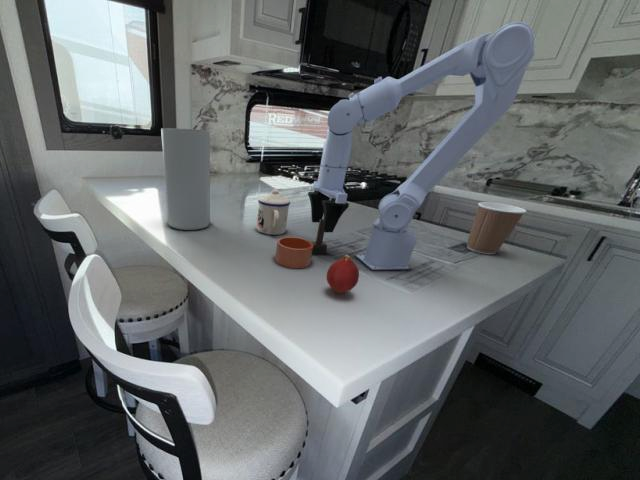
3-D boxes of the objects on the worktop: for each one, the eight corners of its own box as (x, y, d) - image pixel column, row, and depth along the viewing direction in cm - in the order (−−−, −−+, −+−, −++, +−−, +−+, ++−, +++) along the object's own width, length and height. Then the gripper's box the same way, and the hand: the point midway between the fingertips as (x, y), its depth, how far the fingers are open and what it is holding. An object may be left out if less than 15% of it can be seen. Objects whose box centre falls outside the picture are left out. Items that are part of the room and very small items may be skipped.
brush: (321, 250, 79) (328, 218, 74) (325, 254, 77) (332, 221, 72) (308, 251, 78) (314, 218, 74) (311, 254, 76) (317, 221, 72)
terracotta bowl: (303, 254, 76) (306, 236, 74) (315, 268, 69) (318, 249, 67) (271, 254, 75) (273, 236, 73) (280, 268, 68) (282, 249, 66)
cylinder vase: (175, 233, 85) (169, 130, 72) (162, 220, 94) (155, 127, 81) (216, 228, 90) (217, 132, 77) (200, 217, 99) (199, 129, 87)
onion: (331, 283, 63) (339, 246, 59) (358, 292, 60) (369, 254, 56) (318, 293, 59) (326, 254, 55) (346, 303, 56) (357, 264, 52)
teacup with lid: (254, 225, 95) (257, 186, 89) (283, 226, 95) (288, 187, 89) (258, 238, 84) (261, 195, 78) (290, 239, 85) (296, 196, 79)
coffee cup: (511, 255, 83) (535, 210, 77) (487, 258, 80) (510, 212, 74) (475, 242, 92) (494, 201, 85) (451, 245, 88) (469, 202, 82)
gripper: (305, 161, 73) (296, 217, 80) (329, 170, 60) (316, 236, 67) (333, 162, 74) (322, 218, 81) (362, 171, 61) (346, 236, 68)
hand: (321, 226), depth 74 cm, fingers open, 7 cm apart
